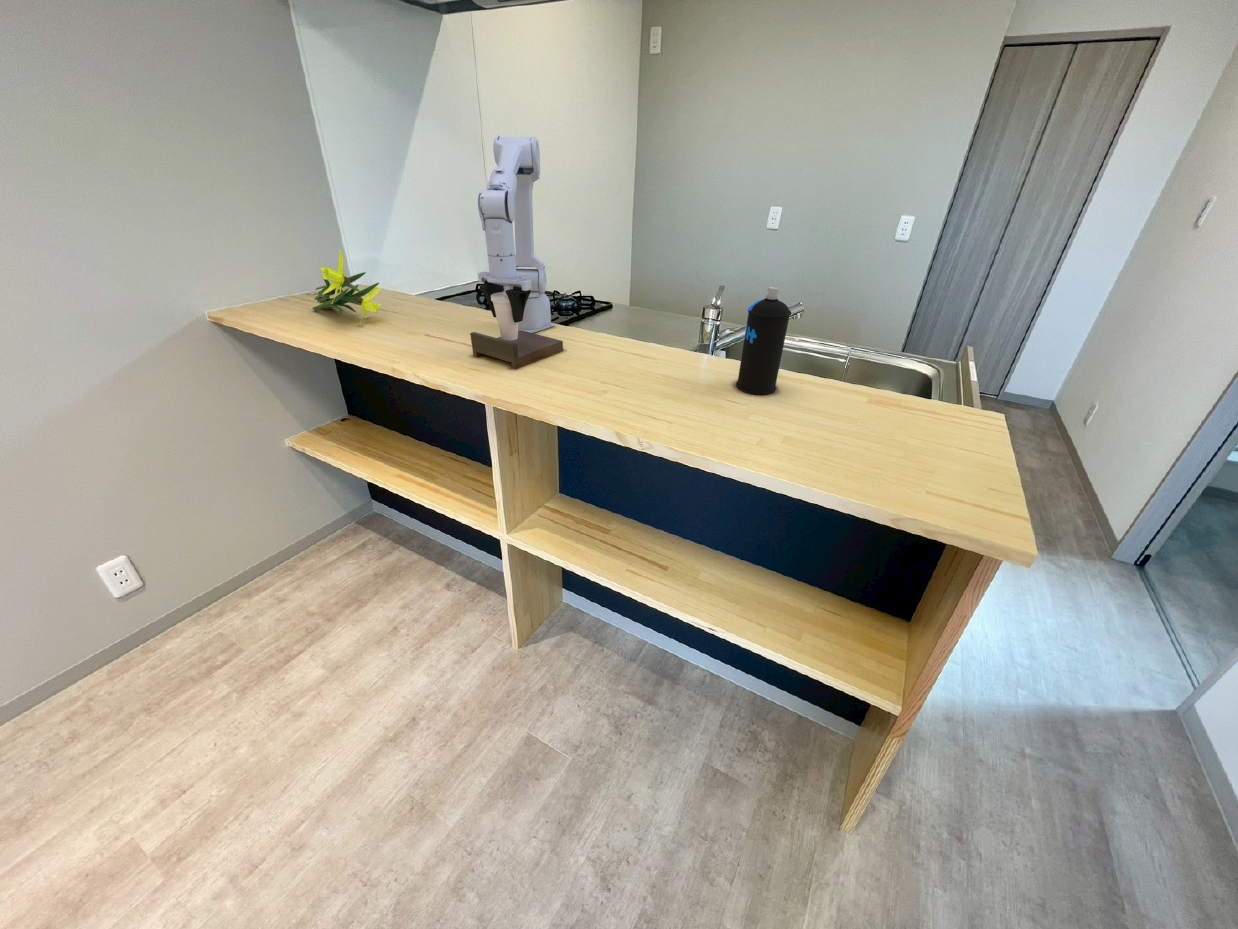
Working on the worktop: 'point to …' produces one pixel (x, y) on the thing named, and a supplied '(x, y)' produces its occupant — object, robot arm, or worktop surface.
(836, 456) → the worktop surface
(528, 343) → the shelf
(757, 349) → the aerosol can
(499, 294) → the smoothie
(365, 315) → the daffodil flowers
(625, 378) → the worktop surface
